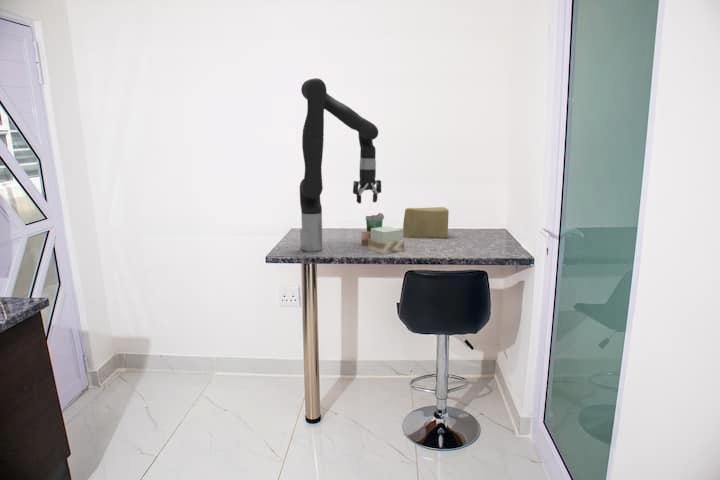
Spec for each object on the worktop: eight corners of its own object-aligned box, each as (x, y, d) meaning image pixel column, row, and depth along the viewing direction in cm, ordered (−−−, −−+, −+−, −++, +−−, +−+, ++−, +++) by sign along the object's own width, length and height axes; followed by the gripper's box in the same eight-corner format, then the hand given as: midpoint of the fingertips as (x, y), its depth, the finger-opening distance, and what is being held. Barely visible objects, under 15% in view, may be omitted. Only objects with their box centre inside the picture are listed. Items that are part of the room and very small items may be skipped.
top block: (383, 243, 226) (383, 232, 225) (370, 239, 234) (370, 228, 233) (401, 240, 231) (401, 229, 230) (388, 236, 239) (388, 226, 238)
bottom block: (382, 255, 225) (382, 244, 224) (367, 249, 235) (367, 239, 234) (404, 251, 232) (404, 240, 231) (388, 246, 242) (388, 235, 240)
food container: (375, 236, 261) (375, 217, 259) (365, 234, 265) (365, 215, 263) (388, 232, 271) (388, 213, 268) (379, 230, 274) (379, 212, 272)
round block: (365, 246, 240) (365, 234, 238) (359, 244, 244) (359, 232, 242) (373, 245, 242) (373, 232, 241) (367, 243, 246) (367, 231, 245)
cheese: (404, 239, 254) (405, 209, 251) (401, 235, 264) (402, 206, 261) (448, 238, 256) (449, 209, 253) (443, 234, 266) (444, 206, 262)
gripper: (358, 169, 229) (358, 204, 233) (384, 168, 237) (384, 202, 240) (350, 167, 236) (350, 202, 239) (376, 167, 243) (375, 200, 246)
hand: (367, 202), depth 240 cm, fingers open, 8 cm apart
